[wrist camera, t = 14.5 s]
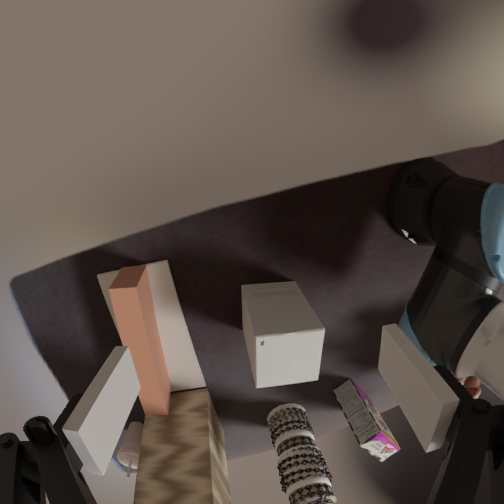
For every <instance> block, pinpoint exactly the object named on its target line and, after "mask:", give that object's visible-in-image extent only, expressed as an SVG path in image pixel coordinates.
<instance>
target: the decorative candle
mask: <svg viewBox="0 0 504 504" xmlns="http://www.w3.org/2000/svg"><path fill="white" fill-rule="evenodd" d="M267 421H268V424H269V425H268V427H270V430H269V432H272V433H271V438H272V444H273V445H274V447H275V449H276V452H277V454H278V460H277V463H278V467H277V468H278V469H279V476H281V477H282V478H281V481H280V483H281V484H282V491H283V492H285V493H287V497H288V499H289V501H290V504H335V503H336V501H337V498H336V497H335V496H334V495H333V492H332V489H331V479H332V476H331V473H330V472H328V467H326V462H324V461H325V459H324V458H322V454H321V451H320V450H319V448H317V447H316V445H315V440H314V437H313V435H314V433H313V430H312V427H310V426H311V424H310V421H309V418H308V416H307V413H306V412H305V409H304V408H303V407H302V406H301V405H299V404H296V403H287V404H283V405H279V406H278V407H276V408H274V409H273V410H272V411H271V412H270V413H269V414H268V417H267ZM327 476H328V478H329V479H328V478H327ZM285 482H286V483H285ZM286 487H287V488H286Z"/></svg>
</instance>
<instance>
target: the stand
mask: <svg viewBox="0 0 504 504" xmlns="http://www.w3.org/2000/svg"><path fill="white" fill-rule="evenodd" d="M133 504H231V499H230V491H229V482H228V473H227V463H226V453H225V443H224V433H223V429H222V427H221V424H220V421H219V419H218V416H217V414H216V411H215V408H214V405H213V403H212V400H211V397H210V394H209V392H208V389H207V388H204V389H198V390H191V391H184V392H177V393H170V401H169V411H168V415H145V419H144V426H143V432H142V439H141V446H140V453H139V461H138V468H137V476H136V486H135V494H134V503H133Z"/></svg>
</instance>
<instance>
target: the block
mask: <svg viewBox="0 0 504 504" xmlns="http://www.w3.org/2000/svg"><path fill="white" fill-rule="evenodd" d="M109 293H110V298H111V302H112V306H113V310H114V314H115V318H116V322H117V326H118V330H119V334H120V337H121V341H122V345H123V346H129V350H130V353H131V357H132V360H133V364H134V367H135V370H136V373H137V377H138V380H139V383H140V386H141V389H140V391H139V393H138V396H139V399H140V402H141V404H142V407H143V410H144V413H145V415H168V411H169V401H170V390H171V383H170V379H169V375H168V370H167V366H166V362H165V358H164V353H163V349H162V344H161V340H160V335H159V330H158V325H157V320H156V315H155V310H154V305H153V300H152V294H151V288H150V283H149V277H148V271H147V265H143V266H130V267H122V268H121V270H120V271H119V273H118V275H117V276H116V278H115V279H114V281H113V283H112V284H111V286H110V287H109Z"/></svg>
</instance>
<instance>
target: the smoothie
mask: <svg viewBox="0 0 504 504" xmlns="http://www.w3.org/2000/svg"><path fill="white" fill-rule="evenodd" d="M143 426H144V424H142V423H140V422H131V423H130V425H129V427H128V430H127V432H126V435H125V438H124V440H123V443H122V446H121V449H120V450H119V451H118V452H117V459H118V461H119V462H120V463H121V464H123V465H125V466H127V467H128V472H127V476H128V477H130V471H131V468H136V469H137V468H138V461H139V453H140V446H141V439H142V432H143Z"/></svg>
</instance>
